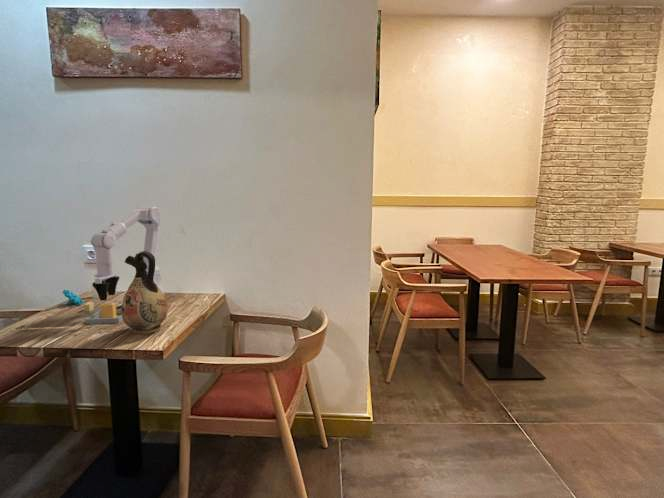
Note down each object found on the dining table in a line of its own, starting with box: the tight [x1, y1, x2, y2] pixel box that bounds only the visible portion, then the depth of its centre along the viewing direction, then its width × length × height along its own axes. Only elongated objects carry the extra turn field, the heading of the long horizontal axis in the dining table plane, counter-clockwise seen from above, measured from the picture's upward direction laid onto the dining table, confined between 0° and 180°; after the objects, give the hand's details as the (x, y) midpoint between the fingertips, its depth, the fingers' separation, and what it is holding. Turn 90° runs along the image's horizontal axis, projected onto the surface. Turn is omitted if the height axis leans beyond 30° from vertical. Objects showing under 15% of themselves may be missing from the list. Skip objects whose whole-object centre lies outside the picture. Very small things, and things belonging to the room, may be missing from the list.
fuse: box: [99, 302, 118, 318], centre depth 159 cm, size 4×3×6 cm, turn 96°
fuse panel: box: [77, 301, 119, 315], centre depth 170 cm, size 12×10×4 cm
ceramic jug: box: [121, 250, 169, 335], centre depth 146 cm, size 17×15×30 cm
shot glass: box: [90, 282, 100, 299], centre depth 193 cm, size 7×7×7 cm
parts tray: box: [85, 308, 124, 327], centre depth 159 cm, size 12×12×2 cm
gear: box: [62, 289, 85, 306], centre depth 178 cm, size 11×6×10 cm
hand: (107, 297), depth 158 cm, fingers open, 7 cm apart
